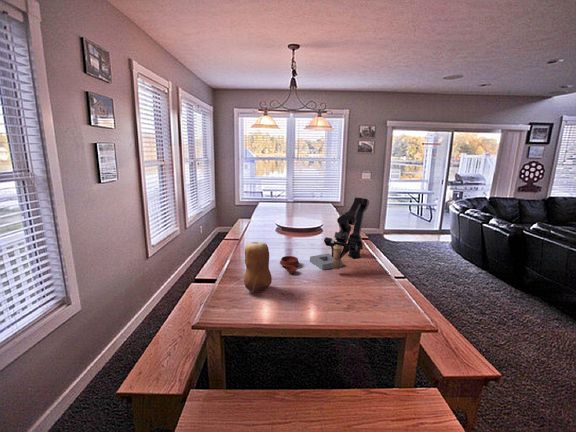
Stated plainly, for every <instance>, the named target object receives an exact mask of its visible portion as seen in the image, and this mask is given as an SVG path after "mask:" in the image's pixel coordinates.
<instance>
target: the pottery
mask: <svg viewBox="0 0 576 432" xmlns="http://www.w3.org/2000/svg"><path fill="white" fill-rule="evenodd" d="M279 264H280V265H281V266H284V267H285V270H286V271H287V272H288V275H294V274H295V273H296V272H297V270H298V268H297V266H299V265H300V261H299V258H298V257H296V256H293V255H285V256H282V257H281V259H280V261H279Z"/></svg>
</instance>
